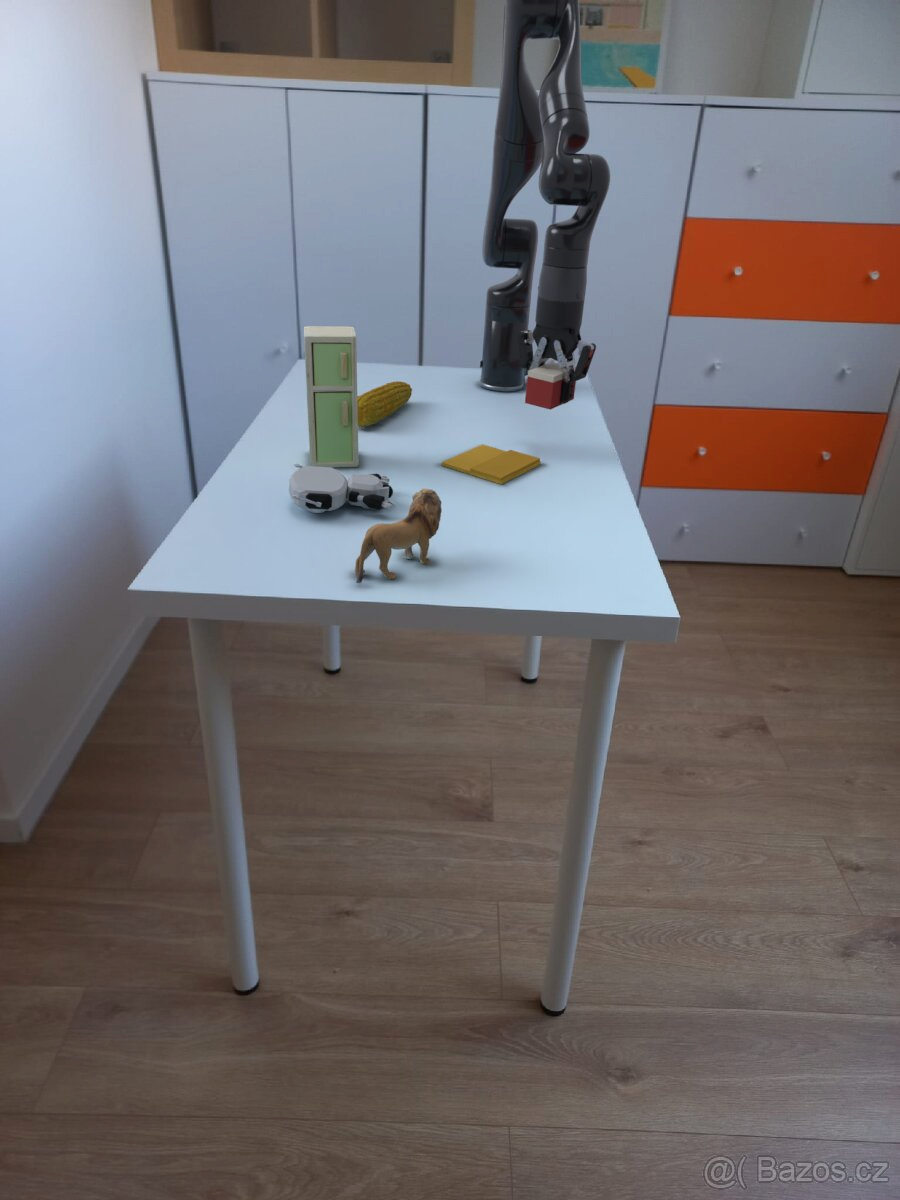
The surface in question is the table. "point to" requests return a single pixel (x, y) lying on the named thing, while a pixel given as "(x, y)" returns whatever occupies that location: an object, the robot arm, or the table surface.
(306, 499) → the robot toy
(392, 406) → the food
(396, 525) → the lion figurine
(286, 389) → the table surface
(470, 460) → the cloth
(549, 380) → the toy cooler box
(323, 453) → the toy refrigerator
